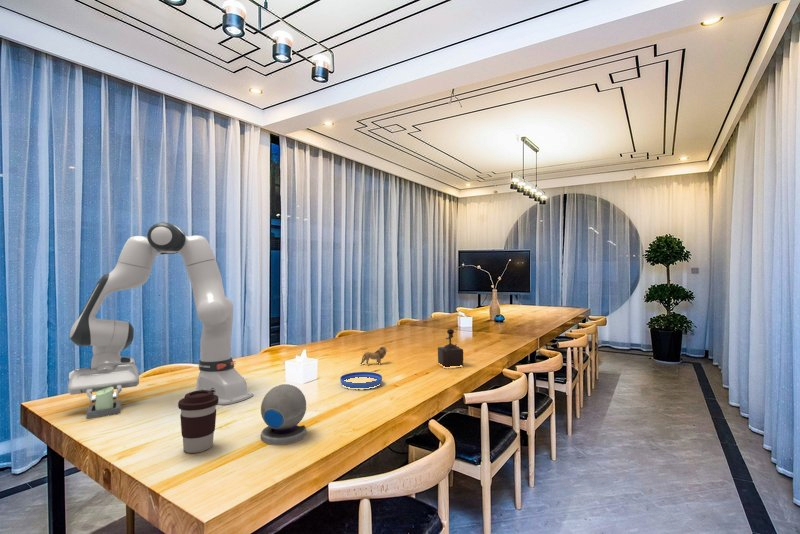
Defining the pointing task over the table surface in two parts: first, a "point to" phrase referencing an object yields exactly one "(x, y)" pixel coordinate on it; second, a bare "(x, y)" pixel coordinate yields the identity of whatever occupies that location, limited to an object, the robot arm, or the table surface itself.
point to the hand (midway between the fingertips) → (104, 400)
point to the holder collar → (103, 411)
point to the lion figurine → (374, 355)
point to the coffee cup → (198, 420)
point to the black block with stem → (450, 353)
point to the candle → (104, 399)
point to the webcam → (283, 415)
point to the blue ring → (361, 374)
